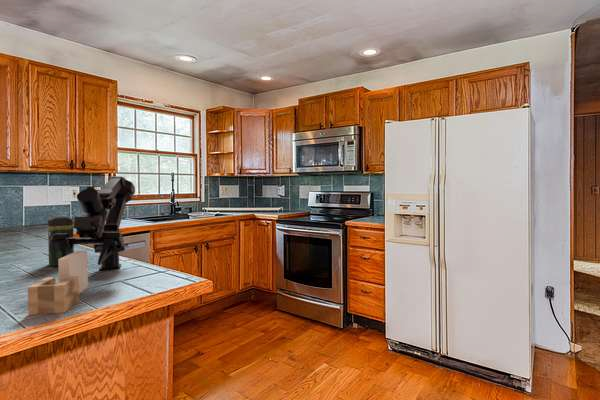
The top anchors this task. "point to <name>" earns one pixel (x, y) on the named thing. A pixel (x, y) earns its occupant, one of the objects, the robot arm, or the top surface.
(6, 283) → the top surface
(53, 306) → the oak box
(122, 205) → the robot arm
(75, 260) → the cover plate
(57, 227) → the coffee jar
